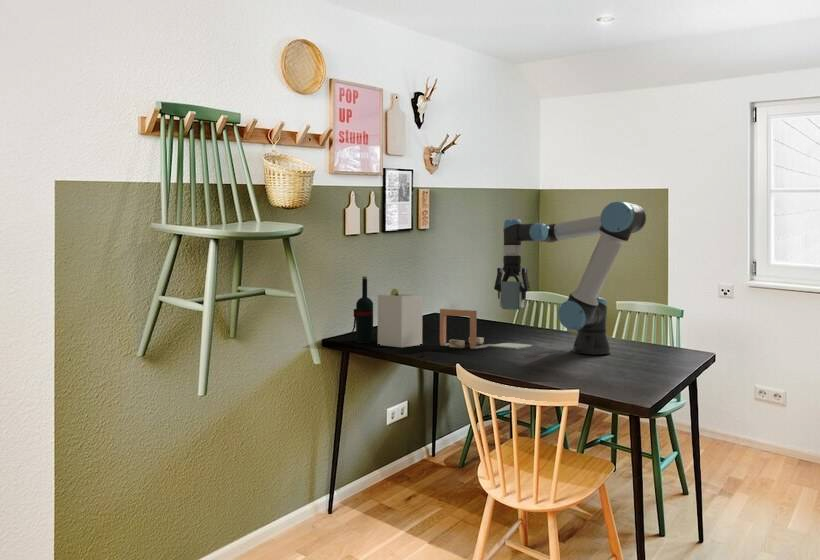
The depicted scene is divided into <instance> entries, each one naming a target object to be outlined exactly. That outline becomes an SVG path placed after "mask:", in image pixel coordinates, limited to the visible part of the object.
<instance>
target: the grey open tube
mask: <svg viewBox="0 0 820 560" xmlns="http://www.w3.org/2000/svg"><path fill="white" fill-rule="evenodd" d="M520 283H521V284H524V283H523V281H522V282H517V281H509V280H507V282H505V281H502V280H501V292H502V294H501V296H502V307H501V309H502V310H512V311H513V310H522V309H523V307H522V308H519V293H520V291H521V290H520Z"/></svg>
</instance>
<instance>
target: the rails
mask: <svg viewBox="0 0 820 560" xmlns="http://www.w3.org/2000/svg"><path fill="white" fill-rule="evenodd" d="M439 345H440V346H443V347H444V346H445V347H446V346H449V342H446V344H440V343H439ZM491 345H495V344H493V343H487V344H481V345H476V347H470V346H469V347H470V349H471V350H473V349H474V350H477V349H483V348H488V347H489V348H491Z"/></svg>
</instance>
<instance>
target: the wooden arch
mask: <svg viewBox="0 0 820 560" xmlns="http://www.w3.org/2000/svg"><path fill="white" fill-rule="evenodd" d="M477 314H478V312H477V310H472V309H471V310H470V309H469V310H467V309H449V308H440V309H439V345H440V344H446V343H447V316H450V317H451V316H452V317H456V316H457V317H468V318H469V337H470V343H469V347H476V346H477V344H476V337H477V321H478V320H477Z"/></svg>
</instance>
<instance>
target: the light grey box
mask: <svg viewBox="0 0 820 560" xmlns="http://www.w3.org/2000/svg"><path fill="white" fill-rule="evenodd" d="M390 294H391V293H390ZM390 294H377V345H378V344H380V345H379V346H385V347H386V346H387V347H395V348H407V347H413V346H421V345H420V344H422V345H423V297H424V296H423V294H408V293H407V294H406V293H404V294H403V293H398V296H394V295H390Z"/></svg>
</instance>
